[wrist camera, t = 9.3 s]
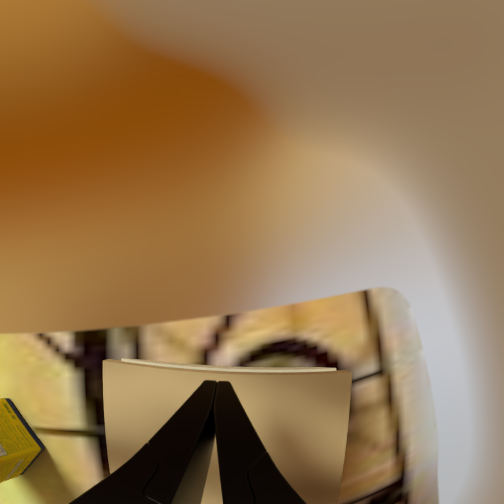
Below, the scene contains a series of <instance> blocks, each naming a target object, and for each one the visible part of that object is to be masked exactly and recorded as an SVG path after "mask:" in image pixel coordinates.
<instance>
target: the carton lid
mask: <svg viewBox="0 0 504 504" xmlns="http://www.w3.org/2000/svg"><path fill="white" fill-rule="evenodd" d="M204 380H215V381H217V382H218V381H229V382H230V383H231V384H232V386H233V388H234V390H235V392H236V394H237V396H238V398H239V400H240V402H241V404H242V406H243V408H244V410H245V412H246V413H247V415H248V417H249V419H250V421H251V423H252V425H253V426H254V428H255V430H256V432H257V434H258V436H259V437H260V439H261V441H262V443H263V445H264V446H265V448H266V450H267V452H268V453H269V455H270V456H271V458H272V460H273V461H274V463H275V464H276V466H277V468H278V469H279V471H280V472H281V474H282V475H283V476H284V477H285V479H286V480H287V481H288V483H289V484H290V485H291V486H292V487H293V489H294V490H295V491H296V492H297V493H298V494H299V495H300V497H301V498H302V499H303V500H304V501H305V502H306V503H307V504H337V503H338V497H339V491H340V485H341V479H342V472H343V465H344V457H345V450H346V441H347V432H348V422H349V411H350V398H351V382H352V372H350V371H348V370H340V371H320V372H231V371H212V370H197V369H184V368H174V367H164V366H155V365H146V364H139V363H131V362H124V361H118V360H111V359H108V360H103V397H104V416H105V430H106V441H107V451H108V460H109V467H110V474H111V473H113V472H114V471H115V470H117V469H118V468H119V467H120V466H122V465H123V464H124V463H125V462H127V461H128V460H129V459H130V458H131V457H132V456H133V455H134V454H135V453H136V452H138V451H139V450H140V449H141V448H142V447H143V445H144V444H145V443H148V441H149V440H150V439H151V438H152V437H153V436H154V434H155V433H156V432H157V431H158V430H159V429H160V428H161V427H162V426H163V425H164V424H165V423H166V422H167V421H168V420H169V419H170V417H171V416H172V415H173V414H174V413H175V412H176V411H177V410H178V409H179V408H180V407H181V406H182V404H183V403H184V402H185V401H186V400H187V399H188V398H189V397H190V396H191V395H192V394H193V392H194V391H195V390H196V389H197V388H198V387H199V386H200V385H201V384H202V382H203V381H204ZM201 504H223V500H222V491H221V483H220V474H219V465H218V455H217V445H216V437H215V442H214V447H213V451H212V456H211V461H210V465H209V470H208V474H207V479H206V483H205V488H204V492H203V497H202V501H201Z"/></svg>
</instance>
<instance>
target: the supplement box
mask: <svg viewBox="0 0 504 504" xmlns="http://www.w3.org/2000/svg"><path fill="white" fill-rule="evenodd" d="M44 449H45V447H44V446H43V444H42V443H41V442H40V440H39V439H38V438H37V437H36V436H35V434H34V433H33V432H32V430H31V429H30V427H29V426H28V425H27V423H26V422H25V421H24V419H23V418H22V416H21V415H20V414H19V412H18V411H17V409H16V408H15V406H14V405H13V403H12V402H11V400H10V399H9V398H3V399H0V483H1V482H3V481H6V480H9V479H12V478H14V477H17V476H19V475H22V474H24V472H25V471H26V470H27V468H28V467H29V466H30V465H31V464H32V463H33V462H34V460H35V459H36V458H37V457H38V456H39V455H40V453H41V452H42V451H43V450H44Z"/></svg>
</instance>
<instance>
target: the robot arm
mask: <svg viewBox="0 0 504 504" xmlns="http://www.w3.org/2000/svg"><path fill="white" fill-rule="evenodd" d="M215 437H216V445H217V455H218V465H219V474H220V483H221V491H222V500H223V504H307V503H306V502H305V501H304V500H303V499H302V498H301V497H300V495H299V494H298V493H297V492H296V491H295V490H294V489H293V487H292V486H291V485H290V484H289V483H288V481H287V480H286V479H285V477H284V476H283V475H282V474H281V472H280V471H279V469H278V468H277V466H276V464H275V463H274V461H273V460H272V458H271V456H270V455H269V453H268V452H267V450H266V448H265V446H264V445H263V443H262V441H261V439H260V437H259V436H258V434H257V432H256V430H255V428H254V426H253V425H252V423H251V421H250V419H249V417H248V415H247V413H246V412H245V410H244V408H243V406H242V404H241V402H240V400H239V398H238V396H237V394H236V392H235V390H234V388H233V386H232V384H231V383H230V382H229V381H218V382H217V381H215V380H204V381H203V382H202V384H201V385H200V386H199V387H198V388H197V389H196V390H195V391H194V392H193V394H192V395H191V396H190V397H189V398H188V399H187V400H186V401H185V402H184V403H183V404H182V406H181V407H180V408H179V409H178V410H177V411H176V412H175V413H174V414H173V415H172V416H171V417H170V419H169V420H168V421H167V422H166V423H165V424H164V425H163V426H162V427H161V428H160V429H159V430H158V431H157V432H156V433H155V434H154V436H153V437H152V438H151V439H150V440H149V441H148V443H145V444H144V445H143V447H142V448H141V449H140V450H139V451H138V452H136V453H135V454H134V455H133V456H132V457H131V458H130V459H129V460H128V461H127V462H125V463H124V464H123V465H122V466H120V467H119V468H118V469H117V470H115V471H114V472H113V473H111V474H110V475H109V476H107V477H106V478H105V479H103V480H102V481H100V482H99V483H98V484H96V485H95V486H93V487H92V488H91V489H89V490H88V491H86V492H85V493H83V494H82V495H81V496H79V497H78V498H76V499H75V500H73V501H72V502H70V503H69V504H201V501H202V497H203V492H204V488H205V483H206V479H207V474H208V470H209V465H210V461H211V456H212V451H213V447H214V442H215Z"/></svg>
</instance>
